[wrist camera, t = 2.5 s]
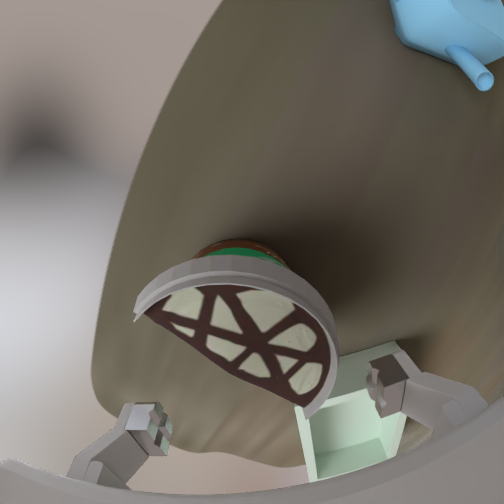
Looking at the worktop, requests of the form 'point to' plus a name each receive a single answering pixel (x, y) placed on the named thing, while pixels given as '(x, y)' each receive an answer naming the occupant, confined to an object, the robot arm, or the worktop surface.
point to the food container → (250, 319)
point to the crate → (349, 422)
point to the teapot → (454, 32)
